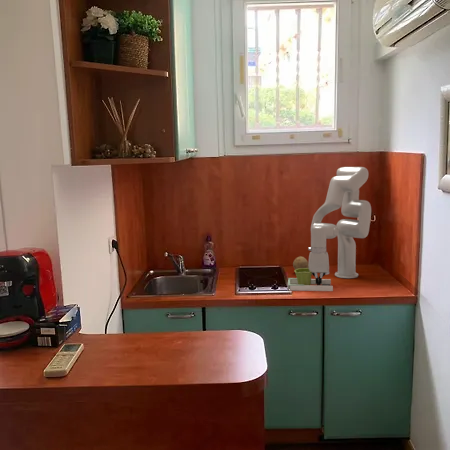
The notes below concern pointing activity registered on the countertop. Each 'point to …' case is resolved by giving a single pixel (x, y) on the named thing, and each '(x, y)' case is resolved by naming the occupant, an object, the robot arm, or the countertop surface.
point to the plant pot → (303, 276)
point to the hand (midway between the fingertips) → (318, 285)
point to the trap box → (301, 287)
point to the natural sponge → (300, 263)
